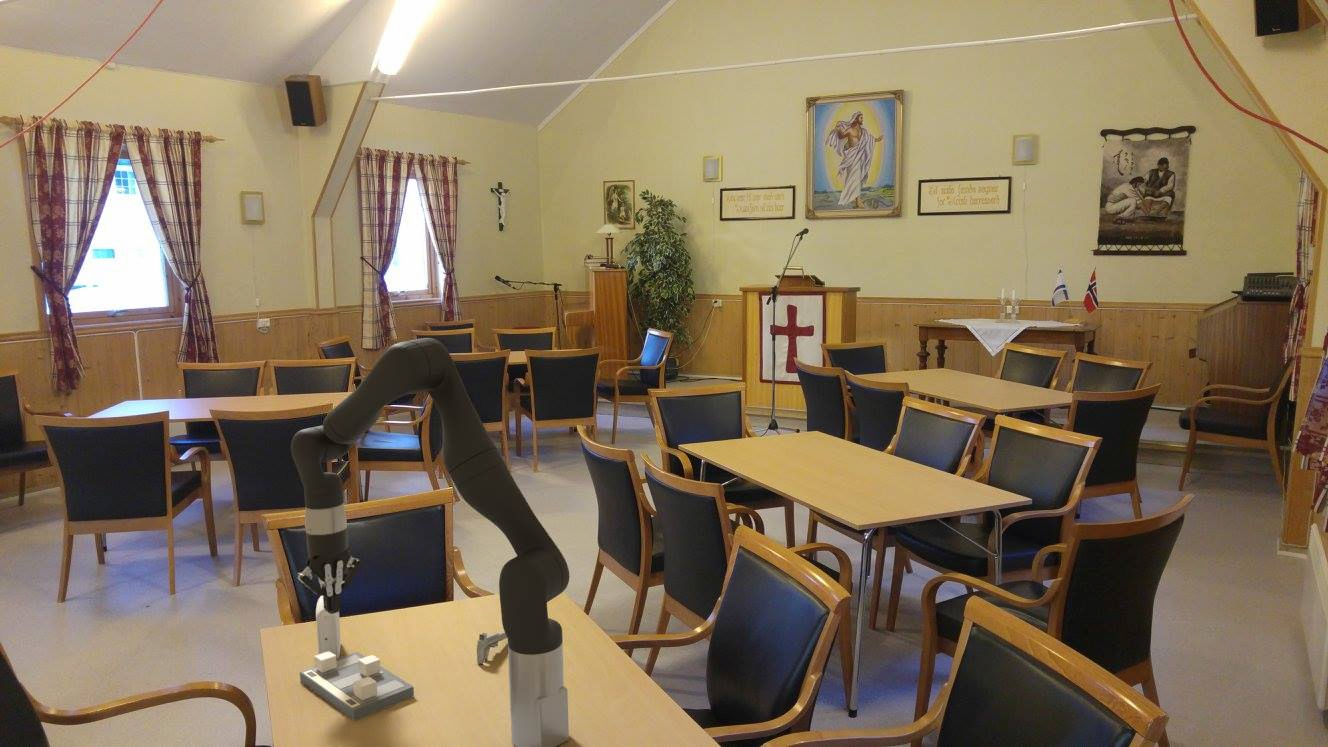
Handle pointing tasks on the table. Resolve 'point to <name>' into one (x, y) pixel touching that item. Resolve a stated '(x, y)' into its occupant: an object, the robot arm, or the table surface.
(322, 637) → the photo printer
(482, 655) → the caliper
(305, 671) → the switch board
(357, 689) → the tab
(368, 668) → the middle tab
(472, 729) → the table surface
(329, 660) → the tab
